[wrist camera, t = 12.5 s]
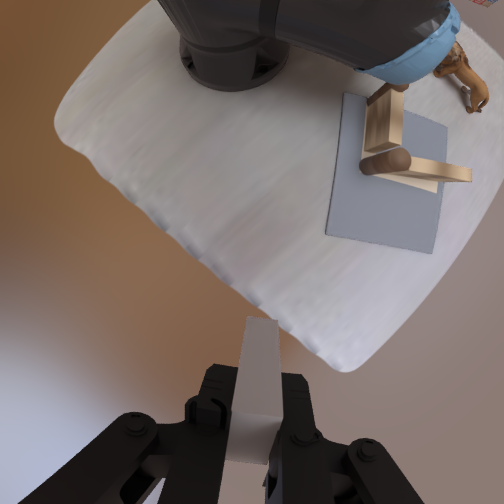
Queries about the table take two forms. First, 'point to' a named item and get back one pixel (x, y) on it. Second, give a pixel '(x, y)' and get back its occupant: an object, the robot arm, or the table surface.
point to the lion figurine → (465, 77)
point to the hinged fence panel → (435, 171)
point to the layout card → (385, 185)
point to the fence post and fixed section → (385, 132)
